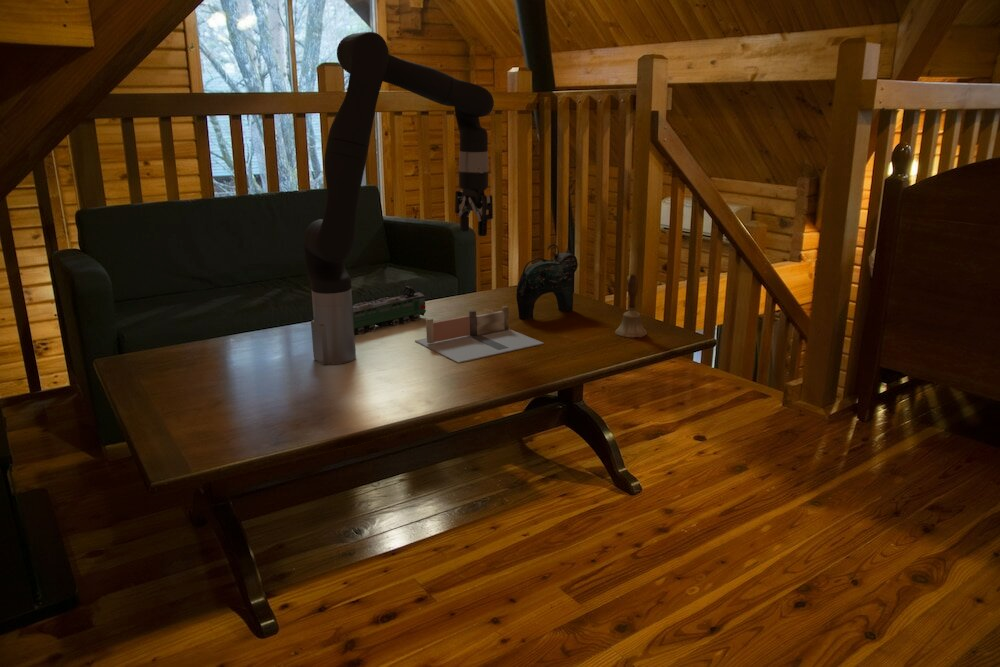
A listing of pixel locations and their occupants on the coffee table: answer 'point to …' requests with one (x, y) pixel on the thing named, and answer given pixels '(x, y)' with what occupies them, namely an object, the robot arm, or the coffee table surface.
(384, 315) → the toy train
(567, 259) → the black animal figurine
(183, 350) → the coffee table surface
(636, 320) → the hand bell
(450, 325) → the panel
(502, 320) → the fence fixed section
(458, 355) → the card
